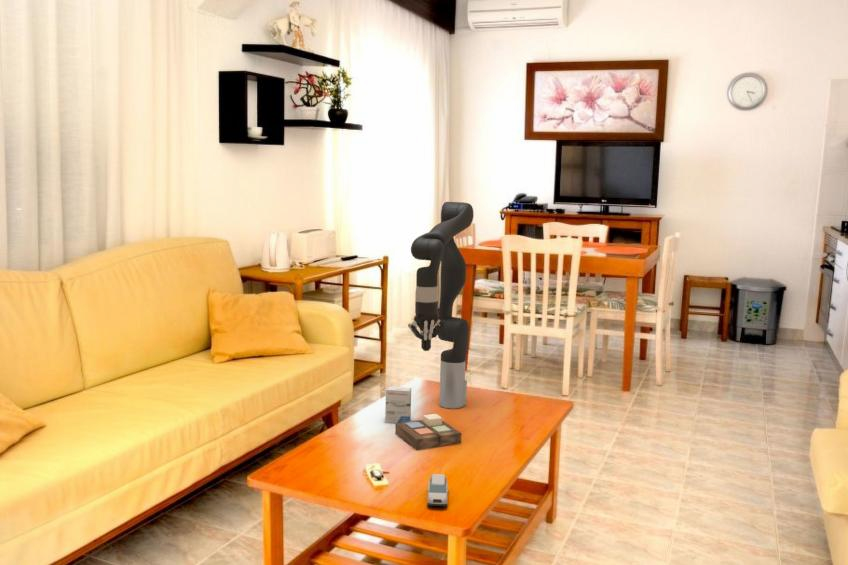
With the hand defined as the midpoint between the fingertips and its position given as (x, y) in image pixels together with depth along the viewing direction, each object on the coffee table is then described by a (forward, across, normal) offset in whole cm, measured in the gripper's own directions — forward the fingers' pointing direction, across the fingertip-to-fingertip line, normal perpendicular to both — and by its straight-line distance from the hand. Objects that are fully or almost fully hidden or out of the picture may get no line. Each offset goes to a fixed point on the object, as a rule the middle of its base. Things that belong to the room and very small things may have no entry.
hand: (425, 350), depth 250 cm
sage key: (+26, 0, +12) cm, 28 cm away
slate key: (+26, +7, +5) cm, 27 cm away
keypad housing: (+27, +4, +9) cm, 29 cm away
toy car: (+26, +22, +50) cm, 61 cm away
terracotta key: (+25, +7, +12) cm, 29 cm away
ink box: (+28, +5, -10) cm, 30 cm away
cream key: (+24, 0, +6) cm, 24 cm away
